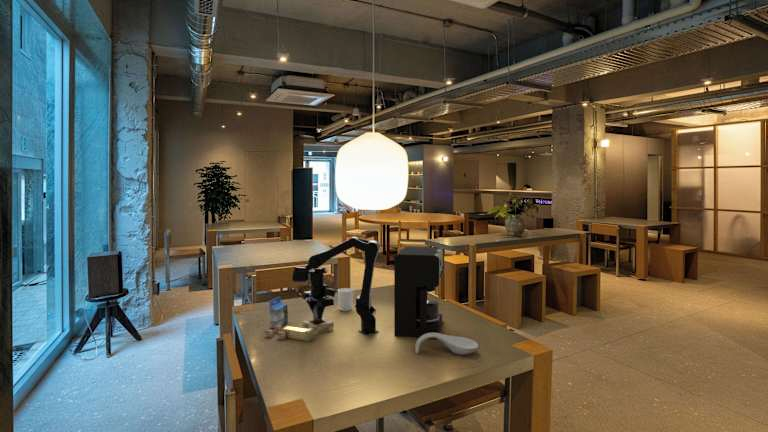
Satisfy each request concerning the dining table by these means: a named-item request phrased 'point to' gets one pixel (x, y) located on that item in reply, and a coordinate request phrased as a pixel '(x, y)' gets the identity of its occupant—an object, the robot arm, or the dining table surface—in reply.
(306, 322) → the dock block
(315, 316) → the black cylinder
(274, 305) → the label tape box
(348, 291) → the white cup
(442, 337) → the spoon rest
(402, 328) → the coffee maker
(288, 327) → the tan rectangular block
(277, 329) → the pin guide
